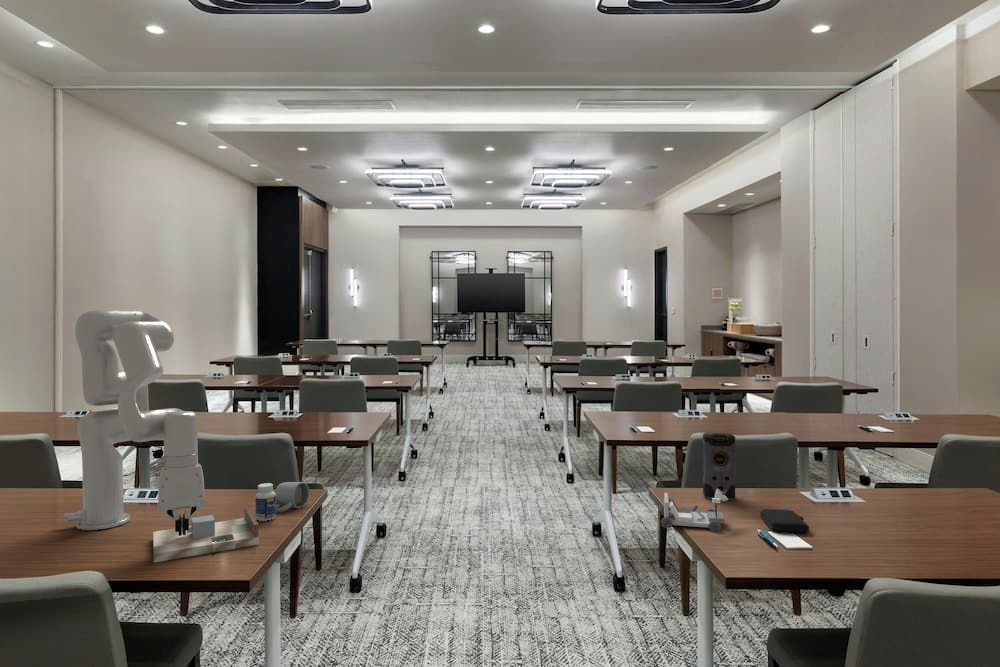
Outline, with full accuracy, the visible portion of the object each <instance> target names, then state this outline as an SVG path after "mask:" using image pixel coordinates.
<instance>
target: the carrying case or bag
mask: <svg viewBox="0 0 1000 667" xmlns="http://www.w3.org/2000/svg"><path fill="white" fill-rule="evenodd" d="M759 515H760V517H761V519H762V520H763V521H764V522H765V524H766V525H767V526H768V527H769V529H770V530H771V531H772V532H774V533H776V534H791V535H792V534H793V535H806V534H807V533H808V532H810V526H809V525H808V524H807V522H805V521H804V517H803V516H801V515H800V514H797V513H796V512H795V511H793V510H790V509H772V508H771V509H770V508H764V509H762V510H761V512H760V513H759Z"/></svg>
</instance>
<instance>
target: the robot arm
mask: <svg viewBox="0 0 1000 667" xmlns="http://www.w3.org/2000/svg"><path fill="white" fill-rule="evenodd" d="M74 335H75V340H76V343H77V346H78V349H79V352H80V356H81V371H82V372H81V373H82V374H81V377H82V395H83V399H84V401H85V403H86V404H87V405H89V406H93V407H102V406H115V405H117V408H116V409H115V408H114V409H104V410H98V411H93V412H90V413H89V412H88V413H87V414H85V415H83V416H82V417H81V418H80V419H79V421H78V423H77V426H76V428H77V435H78V440H79V444H80V450H81V463H82V465H81V466H82V467H81V468H82V469H81V470H82V508H81V510H77V512H67V513H63V517H62V518H63V521H64V522H65V521H67V522H75V521H77V522H76V526H75V527H76V529H78V530H80V529H81V530H80V531H98V530H99V529H100V530H106V529H111V528H115V527H118V526H121V525H122V526H123V525H124V524H126V523H127V522H129V521H130V520H131V515H130V514H129V513H127V512H125V511H124V466H123V465H124V462H123V461H124V460H123V456H122V455H121V454H122V453H120V452H119V450H118V449H116V447H115V445H114V444H118V443H124V442H130V441H132V442H136V443H143V442H150V441H151V442H152V441H156V440H163V456H162V457H161V458H157V459H156V460H157V465H162V466H163V467H161V469H160V473H159V479H158V492H157V494H158V496H157V497H158V498H157V499H158V506H157V510H156V512H157V514H160V515H168V516H169V517H171V518H172V519H174V529H175V532H178V534H179V536H181V535H182V534H183V535H186V531H187V530H189V526H190V524H189V523H190V519H191V516H192V515H193V514H194V513H195V512H197V511H199V510H201V509H204V508H205V507H206V506H207V505H206V501H205V480H204V479H205V477H204V473H203V468H202V464H200V463H199V457H198V456H199V455H198V454H199V452H198V450H199V449H198V448H199V446H198V444H199V443H198V439H199V438H198V415H197V413H195V412H194V411H190V410H182V409H180V408H176V407H171V408H170V407H169V408H161V409H160V408H159V409H152V410H150V404H149V402H150V401H149V400H150V399H149V385H150V384H152V383H153V382H155V381H157V380H158V379H159V378H161V377H162V375H163V374H164V368H163V366H162V362H161V360H160V357H159V355H158V352H167V351H169V350H170V349H171V348H172V347H173V345H174V340H175V338H174V336H175V335H174V333H173V330H172V328H171V327H170V326H169V324H168V323H167V322H165V321H164V320H162V319H160V318H158V317H156V316H154V315H152V314H150V313H148V312H146V311H142V310H123V309H122V310H121V309H120V310H119V309H95V310H90V311H86V312H83V313H81V314H80V315H79V317H78V318H77V320H76V323H75V325H74ZM109 341H110V342H111V341H113V342H114V345H115V347H116V350H117V351H116V350H115V349H114V347H113V346H112V345H111V344H110V343H109ZM119 359H120V364H122V365H121V366H122V368H123V370H119V369H120V368H119ZM179 509H184V513H183V514H182V517H181V514H180V512H179Z"/></svg>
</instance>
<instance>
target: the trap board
mask: <svg viewBox="0 0 1000 667" xmlns="http://www.w3.org/2000/svg"><path fill="white" fill-rule="evenodd" d="M259 526H260V525H259V522H258V521H257V520H256V517H255V516H254V514H253V512H252V511H251V509H250V507H249V506H244V517H242V518H235V519H229V520H223V521H215V536H210V537H204V538H198V539H193V538H192V533H191V525H189V530H187V531H186V535H183V534H182V535H181V536H179V534H178V532H175V528H169V529H162V530H157V531H156V530H155V531H153V532H152V533H153V534H152V535H153V537H152V539H153V540H152V541H153V563H159V562H166V561H169V560H176V559H181V558H188V557H194V556H200V555H205V554H212V553H217V552H223V551H228V550H235V549H241V548H245V547H252V546H257V545H258V544H259V541H260V540H259V535H260V534H259V531H260V530H259V528H260V527H259ZM223 539H225V540H227V541H221V542H215V541H219V540H223ZM212 542H215V543H212ZM258 546H259V545H258ZM211 552H212V553H211Z"/></svg>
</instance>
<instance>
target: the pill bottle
mask: <svg viewBox="0 0 1000 667" xmlns="http://www.w3.org/2000/svg"><path fill="white" fill-rule="evenodd" d="M257 491H258V492H256V493H255V519H256V521H257V520H258V521H257V522H268V521H267V520H269V521H272V520H274V519H275V518H276V514H277V512H276V508H277V505H276V494H275V490H274V484H273V483H270V482H267V483H265V482H264V483H260V484H258V485H257ZM271 519H272V520H271Z"/></svg>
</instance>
